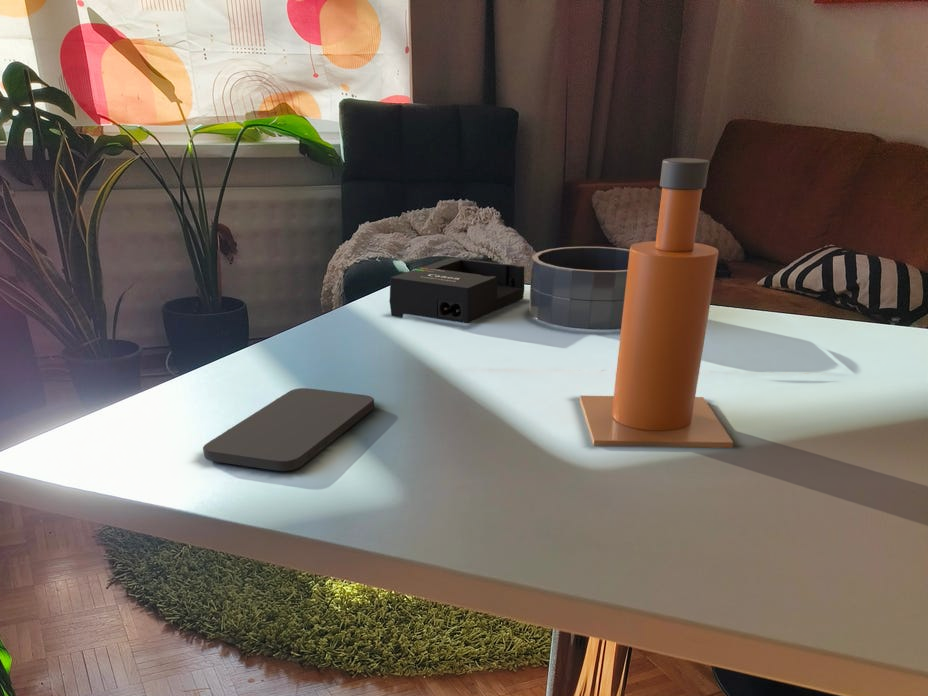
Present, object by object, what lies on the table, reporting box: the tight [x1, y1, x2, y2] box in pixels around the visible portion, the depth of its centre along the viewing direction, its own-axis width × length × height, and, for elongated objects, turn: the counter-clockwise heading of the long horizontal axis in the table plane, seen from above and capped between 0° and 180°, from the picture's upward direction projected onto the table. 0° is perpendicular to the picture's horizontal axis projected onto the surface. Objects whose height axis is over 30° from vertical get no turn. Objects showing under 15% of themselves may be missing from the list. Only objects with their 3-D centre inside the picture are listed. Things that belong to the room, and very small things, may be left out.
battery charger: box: [389, 257, 525, 324], centre depth 97 cm, size 13×10×4 cm
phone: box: [202, 387, 375, 472], centre depth 66 cm, size 7×1×15 cm
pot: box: [528, 246, 630, 330], centre depth 93 cm, size 13×13×6 cm
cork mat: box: [579, 395, 734, 449], centre depth 68 cm, size 10×10×1 cm
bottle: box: [612, 157, 720, 431], centre depth 63 cm, size 6×6×17 cm
